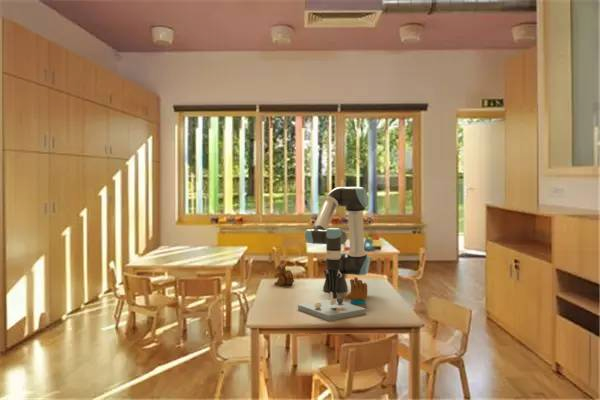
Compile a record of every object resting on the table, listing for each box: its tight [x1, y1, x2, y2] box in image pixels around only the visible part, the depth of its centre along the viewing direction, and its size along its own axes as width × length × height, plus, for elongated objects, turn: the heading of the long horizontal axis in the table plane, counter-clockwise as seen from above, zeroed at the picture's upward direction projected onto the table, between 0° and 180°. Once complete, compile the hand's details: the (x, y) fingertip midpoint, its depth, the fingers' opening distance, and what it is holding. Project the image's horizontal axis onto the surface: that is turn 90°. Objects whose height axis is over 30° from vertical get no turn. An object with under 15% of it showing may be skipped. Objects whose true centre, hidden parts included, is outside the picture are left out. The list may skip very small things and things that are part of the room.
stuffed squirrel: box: [273, 263, 295, 286], centre depth 326 cm, size 10×14×13 cm
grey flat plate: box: [297, 299, 367, 322], centre depth 257 cm, size 26×24×2 cm
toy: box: [344, 276, 368, 305], centre depth 274 cm, size 12×7×15 cm, turn 71°
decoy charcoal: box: [336, 296, 344, 304], centre depth 264 cm, size 4×4×4 cm
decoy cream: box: [315, 301, 321, 309], centre depth 253 cm, size 4×4×4 cm
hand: (333, 304), depth 255 cm, fingers closed
